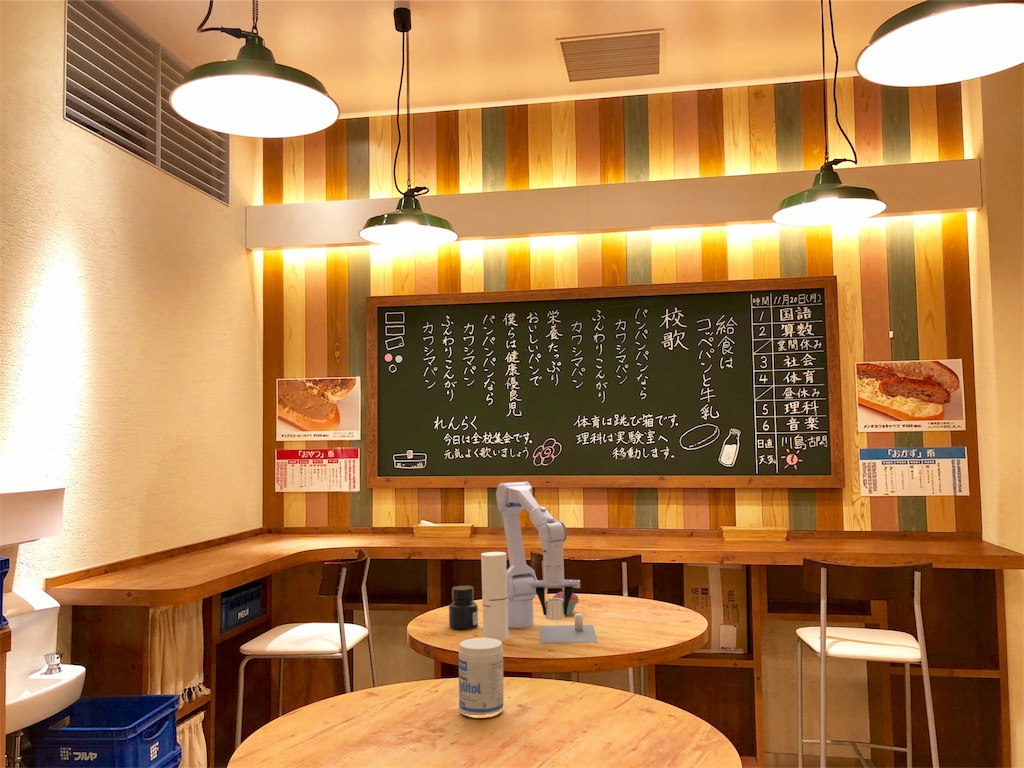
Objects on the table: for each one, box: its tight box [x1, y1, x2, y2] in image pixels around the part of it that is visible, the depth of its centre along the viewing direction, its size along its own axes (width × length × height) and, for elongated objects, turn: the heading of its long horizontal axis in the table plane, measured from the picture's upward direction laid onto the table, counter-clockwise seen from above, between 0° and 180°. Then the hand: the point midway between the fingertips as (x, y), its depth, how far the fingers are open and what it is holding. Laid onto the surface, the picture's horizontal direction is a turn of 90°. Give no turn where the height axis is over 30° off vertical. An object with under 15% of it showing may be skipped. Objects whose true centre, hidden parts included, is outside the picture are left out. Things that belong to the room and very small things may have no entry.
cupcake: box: [552, 588, 580, 616], centre depth 263 cm, size 9×8×12 cm
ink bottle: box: [448, 585, 479, 631], centre depth 249 cm, size 10×9×12 cm
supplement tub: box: [458, 637, 505, 715], centre depth 173 cm, size 10×10×15 cm
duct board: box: [539, 613, 599, 645], centre depth 233 cm, size 16×20×6 cm
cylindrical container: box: [480, 551, 510, 643], centre depth 230 cm, size 7×7×25 cm
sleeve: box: [545, 597, 566, 621], centre depth 228 cm, size 5×5×5 cm
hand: (555, 614), depth 227 cm, fingers closed on sleeve, 5 cm apart
